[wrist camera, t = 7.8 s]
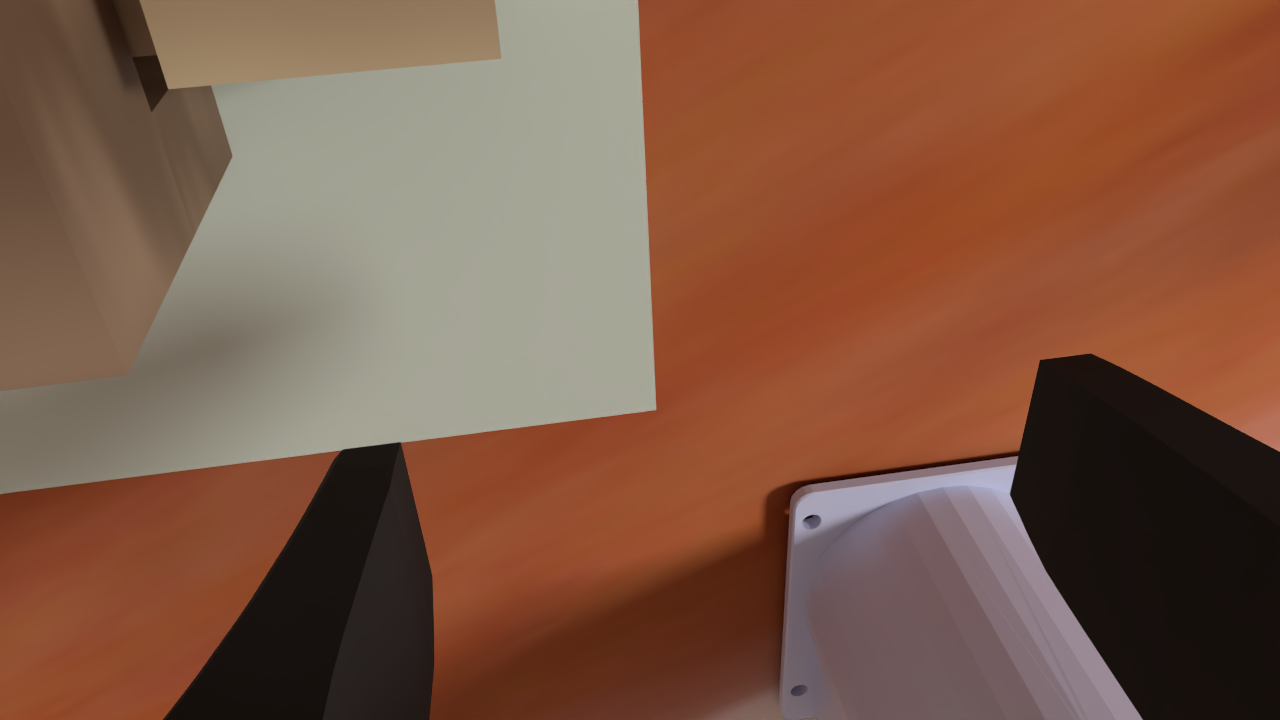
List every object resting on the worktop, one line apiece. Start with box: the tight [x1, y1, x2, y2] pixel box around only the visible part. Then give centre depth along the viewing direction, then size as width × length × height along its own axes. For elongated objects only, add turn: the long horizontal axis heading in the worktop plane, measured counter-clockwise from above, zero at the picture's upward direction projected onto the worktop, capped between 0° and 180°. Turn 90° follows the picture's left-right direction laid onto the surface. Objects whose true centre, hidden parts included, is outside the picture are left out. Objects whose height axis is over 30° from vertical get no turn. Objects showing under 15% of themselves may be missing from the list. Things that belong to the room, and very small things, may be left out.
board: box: [0, 0, 656, 494], centre depth 18 cm, size 14×16×1 cm
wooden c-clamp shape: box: [0, 0, 233, 391], centre depth 13 cm, size 7×2×7 cm, turn 3°
